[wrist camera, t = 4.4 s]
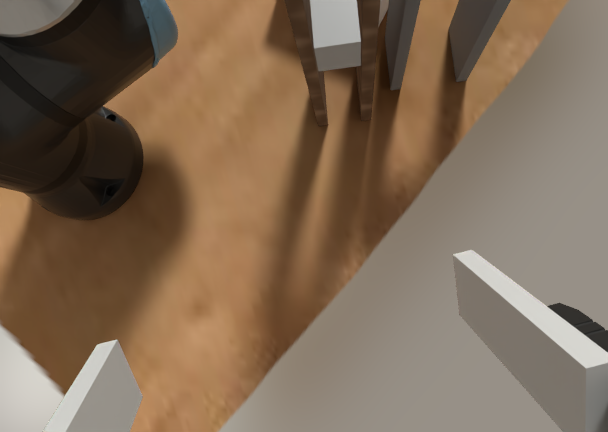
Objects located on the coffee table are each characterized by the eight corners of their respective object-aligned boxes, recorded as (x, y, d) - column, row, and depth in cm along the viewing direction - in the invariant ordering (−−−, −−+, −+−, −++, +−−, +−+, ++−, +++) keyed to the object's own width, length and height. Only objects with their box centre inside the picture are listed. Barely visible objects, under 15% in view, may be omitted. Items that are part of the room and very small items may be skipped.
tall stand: (318, 126, 50) (269, -56, 23) (314, 73, 51) (262, -160, 24) (370, 119, 49) (386, -77, 22) (365, 67, 50) (373, -184, 23)
